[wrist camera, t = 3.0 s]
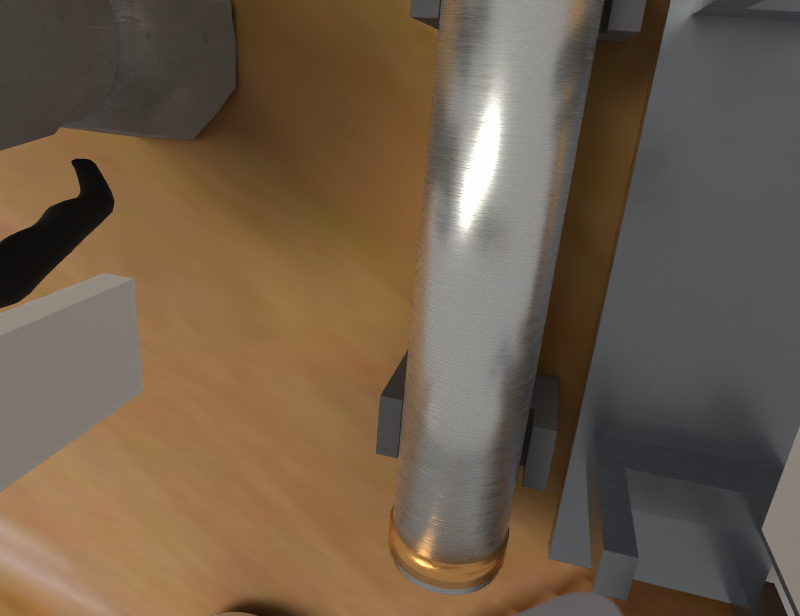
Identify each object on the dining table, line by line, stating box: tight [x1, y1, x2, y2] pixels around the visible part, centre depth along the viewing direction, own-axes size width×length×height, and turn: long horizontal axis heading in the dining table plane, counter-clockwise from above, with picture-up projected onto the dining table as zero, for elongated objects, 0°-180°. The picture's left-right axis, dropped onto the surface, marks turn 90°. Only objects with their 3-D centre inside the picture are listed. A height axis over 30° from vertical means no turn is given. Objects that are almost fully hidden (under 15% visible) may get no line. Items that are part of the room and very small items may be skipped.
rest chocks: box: [376, 0, 646, 491], centre depth 25 cm, size 21×8×5 cm, turn 175°
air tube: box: [388, 0, 604, 595], centre depth 22 cm, size 28×5×5 cm, turn 175°
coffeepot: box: [0, 0, 237, 308], centre depth 21 cm, size 15×9×18 cm, turn 21°
